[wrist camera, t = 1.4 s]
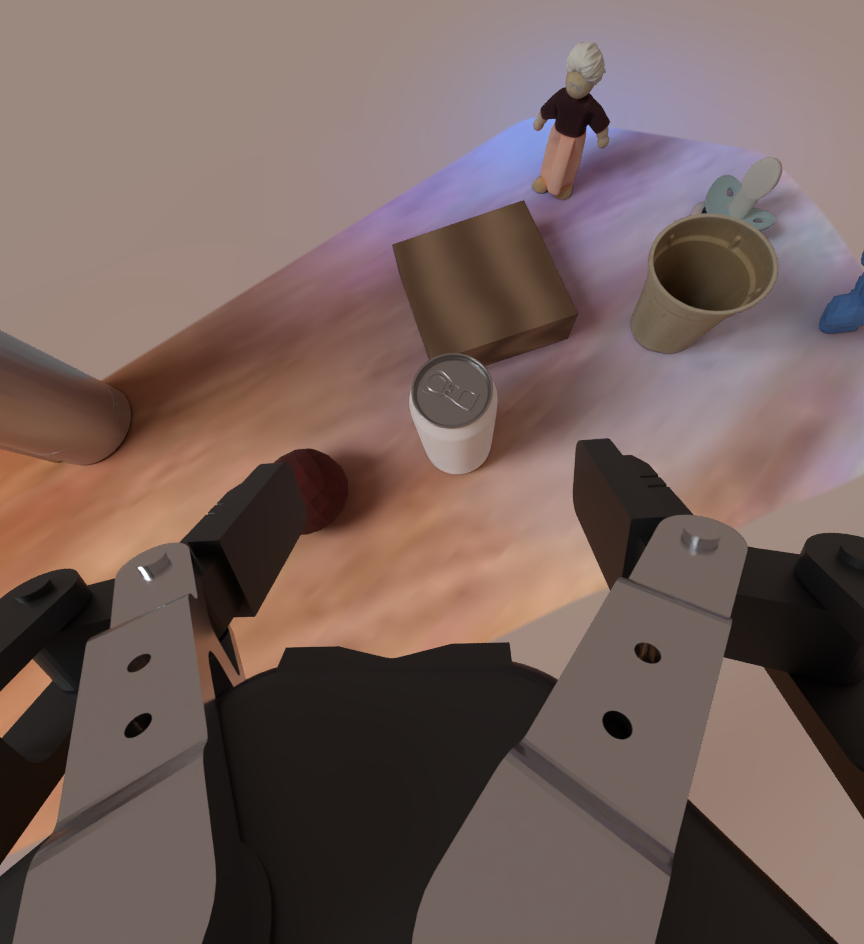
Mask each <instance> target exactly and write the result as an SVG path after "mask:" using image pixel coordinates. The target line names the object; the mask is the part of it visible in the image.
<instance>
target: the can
mask: <svg viewBox="0 0 864 944" xmlns="http://www.w3.org/2000/svg"><path fill="white" fill-rule="evenodd" d="M497 403H498V397H497V390H496V387H495V384H494V382H493V380H492V378H491V376H490V374H489V372H488V371H487V369H486V368H485V367H484V365H483V364H482V363H480V362H479V361H478V360H476V359H475V358H473V357H471V356H468V355H465V354H460V353H447V354H442V355H439V356H436V357H434V358H432V359H431V360H429V361H428V362H426V363H425V364H424V365H423V366H422V367H421V368H420V369H419V371H418V372H417V374H416V375H415V378H414V380H413V383H412V388H411V392H410V397H409V405H410V412H411V415H412V418H413V421H414V424H415V426H416V429H417V431H418V434H419V436H420V439H421V442H422V444H423V446H424V449H425V451H426V454H427V456H428V458H429V459H430V461H431V462H432V463H433V464H434V465H435V466H436V467H437V468H438V469H440V470H442V471H444V472H446V473H450V474H465V473H469V472H471V471H473V470H475V469H477V468H478V467H479V466H481V465H482V464H483V463H484V461H485V460H486V458H487V457H488V455H489V452H490V449H491V444H492V438H493V432H494V426H495V419H496V412H497Z"/></svg>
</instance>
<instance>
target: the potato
mask: <svg viewBox="0 0 864 944" xmlns="http://www.w3.org/2000/svg"><path fill="white" fill-rule="evenodd" d="M282 462H287V463H289V464H290V465H291V467H292V469H293V471H294V474H295V477H296V480H297V483H298V486H299V490H300V493H301V496H302V499H303V502H304V505H305V508H306V524H305V528H304V530H303V531H302V533H301V535H304V534H310V533H313V532H316V531H319V530H321V529H322V528H324V527H325V526H327V525H328V524H330V523H331V522H333V520H334V519H335V518H336V517H337V515H338V514H339V513H340V512H341V510H342V509H343V507H344V504H345V501H346V498H347V495H348V482H347V478H346V476H345V474H344V472H343V470H342V468H341V466H340V465H338V464H337V463H336V462H335V461H334V460H333V459H332V458H331V457H329V456H328V455H326V454H324V453H322V452H319V451H317V450H314V449H298V450H294V451H292V452H290V453H288V454H286V455H284V456H282V457H280V458H279V459H278V460H276V461H275V462H274V463H282Z"/></svg>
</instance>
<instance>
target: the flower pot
mask: <svg viewBox="0 0 864 944" xmlns="http://www.w3.org/2000/svg"><path fill="white" fill-rule="evenodd" d="M777 274H778V258H777V256H776V253H775V251H774V248H773V246H772V245H771V243H770V242H769V241H768V239H767V238H766V237H765V236H764V235H763V234H762V233H761V232H760V231H759V230H757V229H756V228H754V227H753V226H752V225H750V224H748V223H746V222H744V221H742V220H740V219H737V218H734V217H731V216H726V215H722V214H710V213H706V214H696V215H690V216H688V217H685V218H681V219H679V220H677V221H675V222H673V223H672V224H670V225H669V226H668V227H666V228H665V229H664V230H663V231H662V232H661V233H660V234H659V235H658V236H657V238H656V239H655V241H654V243H653V245H652V247H651V249H650V253H649V258H648V277H647V280H646V283H645V285H644V288H643V291H642V293H641V296H640V298H639V301H638V303H637V306H636V309H635V311H634V313H633V316H632V320H631V330H632V333H633V335H634V337H635V339H636V340H637V341H638V342H639V343H640V344H641V345H642V346H643V347H644V348H646V349H648V350H651V351H658V352H662V353H665V354H670V353H676V352H679V351H681V350H683V349H685V348H687V347H688V346H689V345H691V344H692V343H693V342H694V341H696V340H697V339H698V338H700V337H701V336H702V335H704V334H705V333H706V332H708V331H709V330H710V329H712V328H713V327H715V326H716V325H717V324H719V323H720V322H721V321H723V320H724V319H725V318H727V317H730V316H732V315H734V314H736V313H739V312H742V311H745V310H747V309H749V308H751V307H753V306H754V305H756V304H757V303H759V302H760V301H761V300H762V299H763V298H764V297H765V296H766V295H767V294H768V293H769V292H770V290H771V289H772V287H773V285H774V283H775V281H776V278H777Z"/></svg>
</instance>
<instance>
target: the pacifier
mask: <svg viewBox="0 0 864 944" xmlns="http://www.w3.org/2000/svg"><path fill="white" fill-rule="evenodd" d="M781 174H782V164H781V162H780V161H779V160H778V159H776V158H772V157H768V158H764V159H761V160H759V161H758V162H756V163H755V164H754V165H753V166H752V167H751V168H750V169H749V170H748V171H747V173H746V175H745V177H744V179H743V182H742V184H741V183H740V182H739V180H737V179H736V178H735V177H733V176H731V175H724V176H721V177H720V178H718V179H717V180H716V181H715V182H714V183H713V184H712V186H711V187H710V189H709V191H708V193H707V196H706V201H704V202H701V203H699V204H697V205H696V206H695V207H694V208H693V210H692V215H696V214H702V211H705V210H706V211H707V213H710V214H722V215H726V216H731V217H734V218H737V219H740V220H742V221H744V222H746V223H748V224H750V225H752V226H753V227H754V228H756V229H757V230H759V231H763V230H765V229H767V228H769V227H771V226H772V225H773V224H774V222H775V221H776V217H775V216H774V215H773V214H771V213H769V212H767V211H764V210H760V209H756V208H753V207H754V205H755V204H756V203H757V201H758V200H759V199H760V198H762V197H763V196H765V195H767V194H768V193H769V192H770V191H771V190H772V189H773V188H774V187H775V186H776V185H777V183H778V181H779V179H780V177H781ZM727 190H732V192H733V196H732V197H729V196H728V195H727ZM755 220H761V221H762V222H761V223H755V222H754V221H755Z"/></svg>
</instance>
